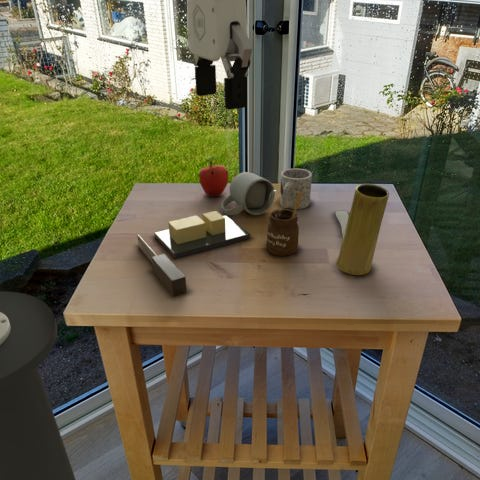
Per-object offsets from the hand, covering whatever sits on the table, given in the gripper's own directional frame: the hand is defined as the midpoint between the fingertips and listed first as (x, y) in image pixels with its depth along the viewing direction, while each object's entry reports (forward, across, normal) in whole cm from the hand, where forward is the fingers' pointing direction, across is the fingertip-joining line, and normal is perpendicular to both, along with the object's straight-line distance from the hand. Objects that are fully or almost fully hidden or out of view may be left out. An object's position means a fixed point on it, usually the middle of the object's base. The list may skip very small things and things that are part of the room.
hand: (220, 101), depth 73 cm
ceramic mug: (+28, -18, +14) cm, 36 cm away
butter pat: (+26, -11, +3) cm, 29 cm away
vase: (+27, +13, +19) cm, 35 cm away
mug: (+28, -16, +24) cm, 40 cm away
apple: (+28, -29, +12) cm, 42 cm away
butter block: (+26, -11, -3) cm, 29 cm away
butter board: (+27, -11, 0) cm, 29 cm away
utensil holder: (+28, +1, +12) cm, 30 cm away
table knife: (+27, -4, -12) cm, 30 cm away
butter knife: (+28, +3, +25) cm, 37 cm away
